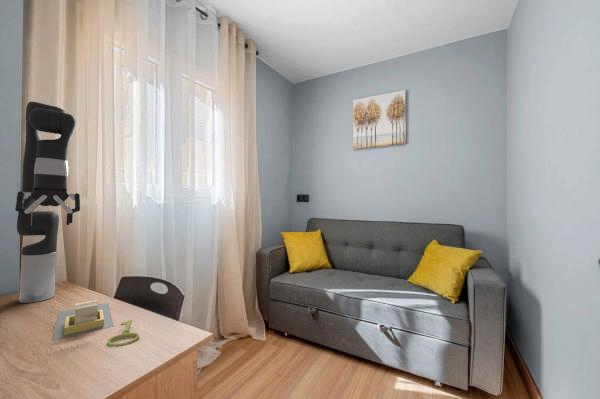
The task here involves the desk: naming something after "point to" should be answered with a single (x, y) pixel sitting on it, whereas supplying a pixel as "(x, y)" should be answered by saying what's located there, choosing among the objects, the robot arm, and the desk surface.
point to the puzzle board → (68, 328)
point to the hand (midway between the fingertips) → (49, 225)
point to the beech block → (86, 311)
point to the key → (124, 335)
